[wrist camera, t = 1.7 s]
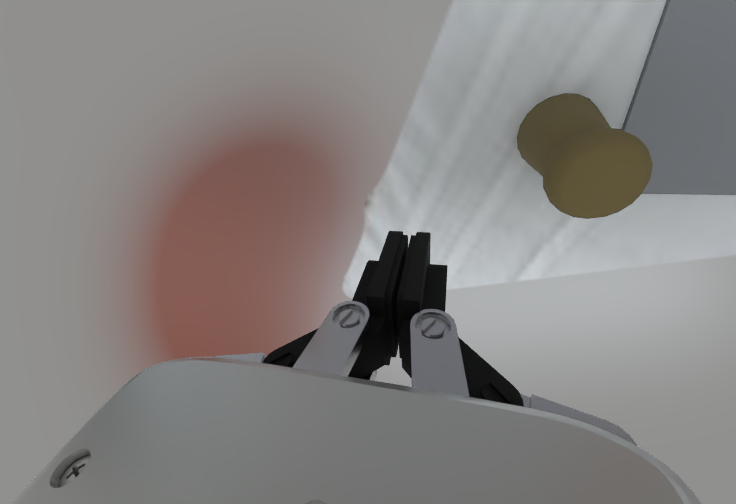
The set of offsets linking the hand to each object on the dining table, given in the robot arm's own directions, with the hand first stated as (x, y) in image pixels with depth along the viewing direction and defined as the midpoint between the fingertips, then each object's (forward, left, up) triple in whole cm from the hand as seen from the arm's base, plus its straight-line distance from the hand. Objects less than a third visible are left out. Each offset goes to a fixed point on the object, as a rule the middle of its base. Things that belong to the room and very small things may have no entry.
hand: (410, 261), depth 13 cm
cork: (-9, 0, -19) cm, 22 cm away
